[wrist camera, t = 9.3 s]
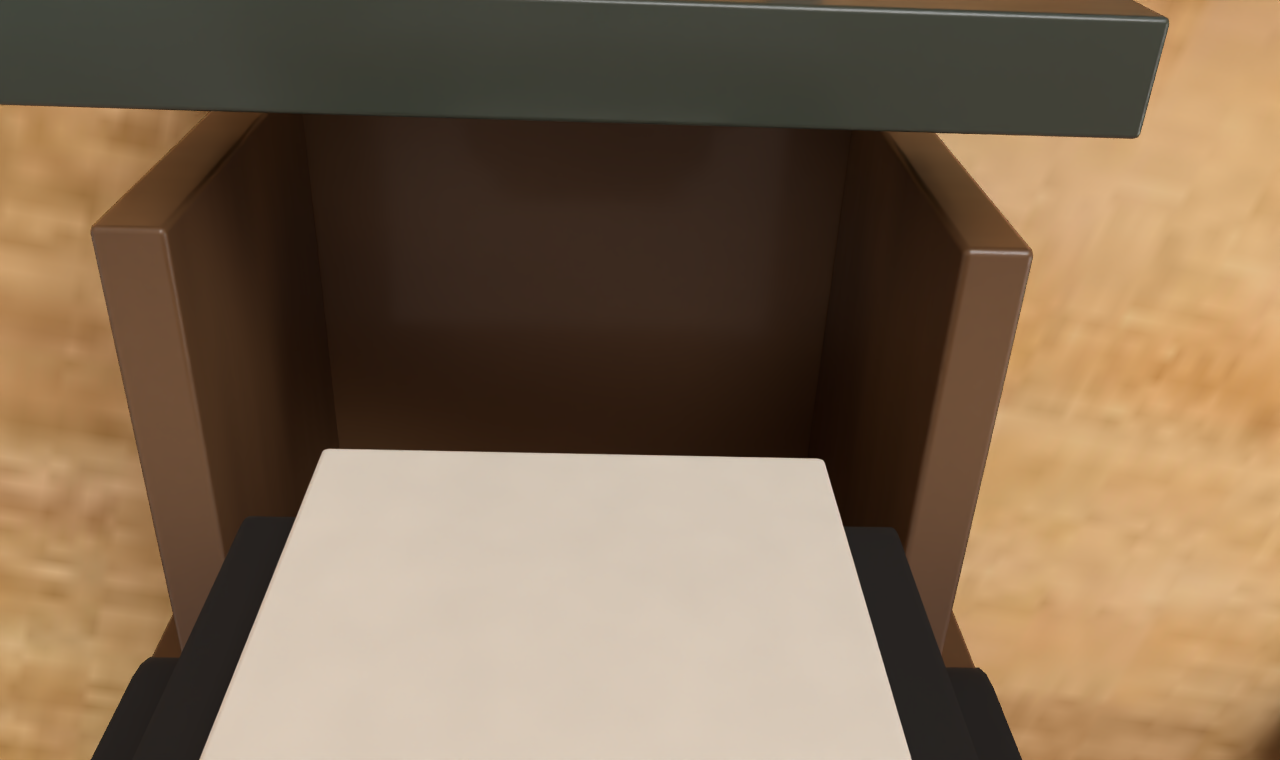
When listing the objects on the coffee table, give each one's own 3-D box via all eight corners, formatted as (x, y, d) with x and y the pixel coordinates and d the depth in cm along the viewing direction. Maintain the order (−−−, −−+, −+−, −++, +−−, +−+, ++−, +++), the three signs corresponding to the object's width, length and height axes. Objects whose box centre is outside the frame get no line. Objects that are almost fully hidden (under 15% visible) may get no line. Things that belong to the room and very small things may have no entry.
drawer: (144, -465, 15) (-209, -617, 8) (1018, -420, 15) (1318, -529, 9) (297, 594, 23) (182, 917, 17) (846, 600, 24) (934, 917, 17)
